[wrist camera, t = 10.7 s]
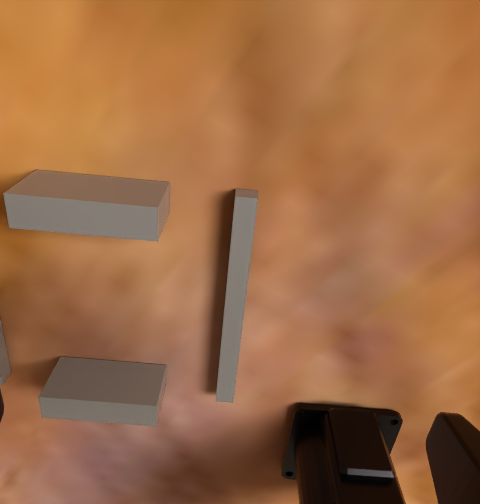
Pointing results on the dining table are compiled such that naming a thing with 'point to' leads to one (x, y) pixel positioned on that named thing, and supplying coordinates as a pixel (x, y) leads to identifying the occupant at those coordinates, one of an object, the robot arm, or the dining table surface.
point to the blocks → (129, 227)
